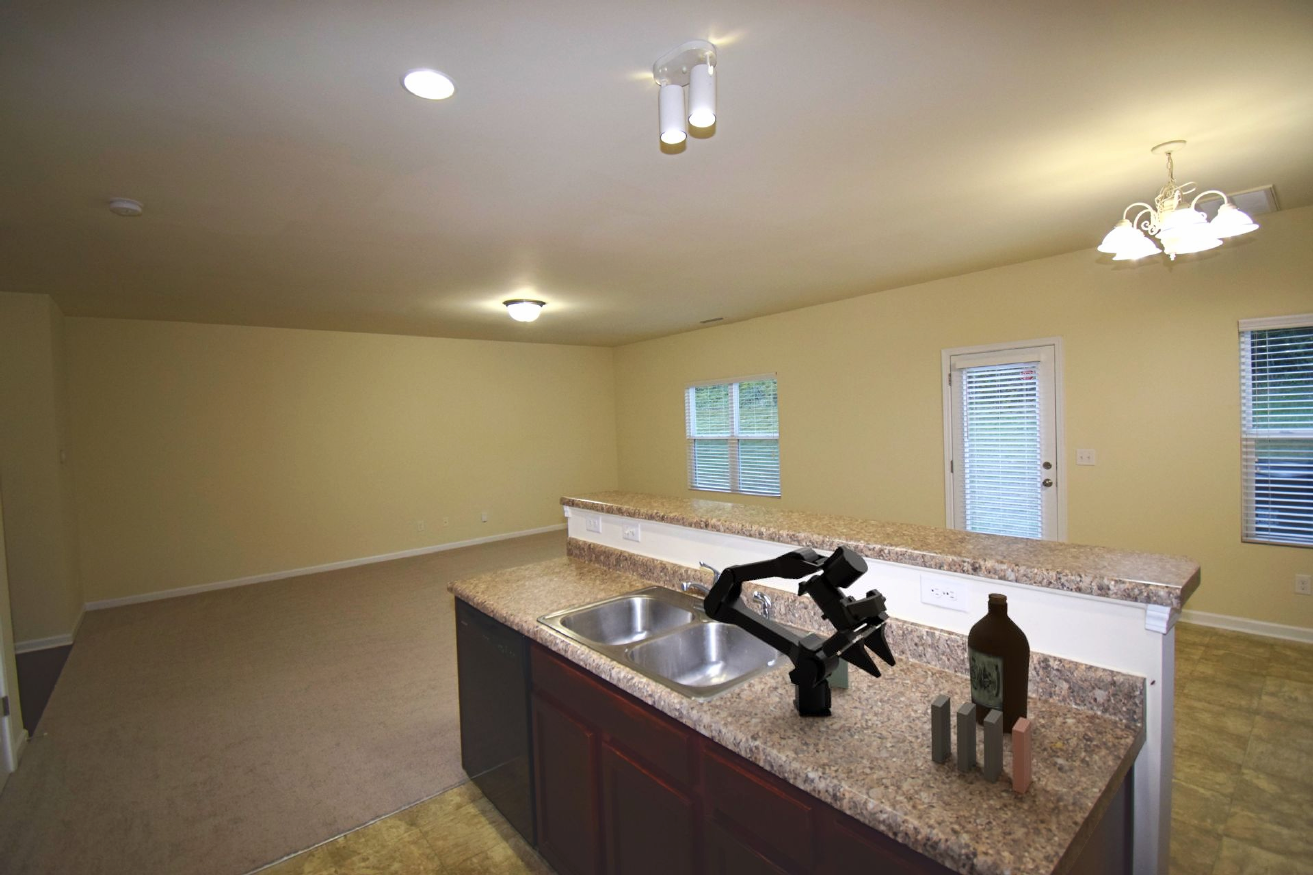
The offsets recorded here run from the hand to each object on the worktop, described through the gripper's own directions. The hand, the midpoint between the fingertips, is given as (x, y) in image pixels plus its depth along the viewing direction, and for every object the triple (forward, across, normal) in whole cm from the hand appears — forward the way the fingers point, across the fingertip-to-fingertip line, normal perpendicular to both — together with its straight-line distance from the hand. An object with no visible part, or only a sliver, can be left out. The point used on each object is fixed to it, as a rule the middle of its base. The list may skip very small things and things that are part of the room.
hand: (887, 670), depth 111 cm
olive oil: (+19, +20, -1) cm, 27 cm away
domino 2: (+19, 0, -1) cm, 19 cm away
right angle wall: (-6, +18, +25) cm, 31 cm away
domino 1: (+16, 0, +2) cm, 16 cm away
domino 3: (+22, 0, -4) cm, 22 cm away
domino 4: (+24, 0, -7) cm, 25 cm away
